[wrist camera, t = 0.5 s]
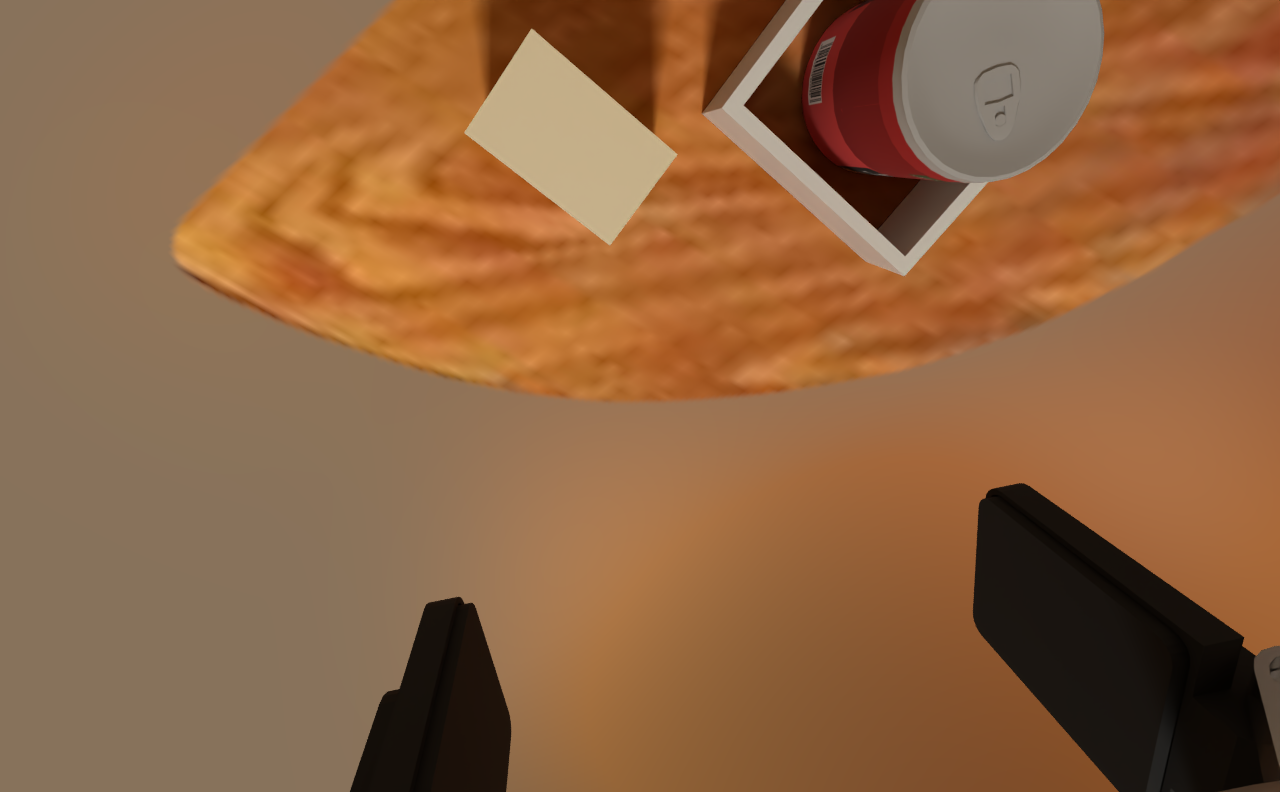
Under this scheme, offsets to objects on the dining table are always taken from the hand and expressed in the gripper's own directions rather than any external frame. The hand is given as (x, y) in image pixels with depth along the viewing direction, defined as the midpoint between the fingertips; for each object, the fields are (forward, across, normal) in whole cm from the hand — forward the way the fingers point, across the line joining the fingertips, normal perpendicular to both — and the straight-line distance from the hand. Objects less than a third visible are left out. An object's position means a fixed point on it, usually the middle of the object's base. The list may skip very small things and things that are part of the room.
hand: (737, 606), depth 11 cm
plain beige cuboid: (+26, +1, -8) cm, 27 cm away
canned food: (+26, -15, -9) cm, 31 cm away
